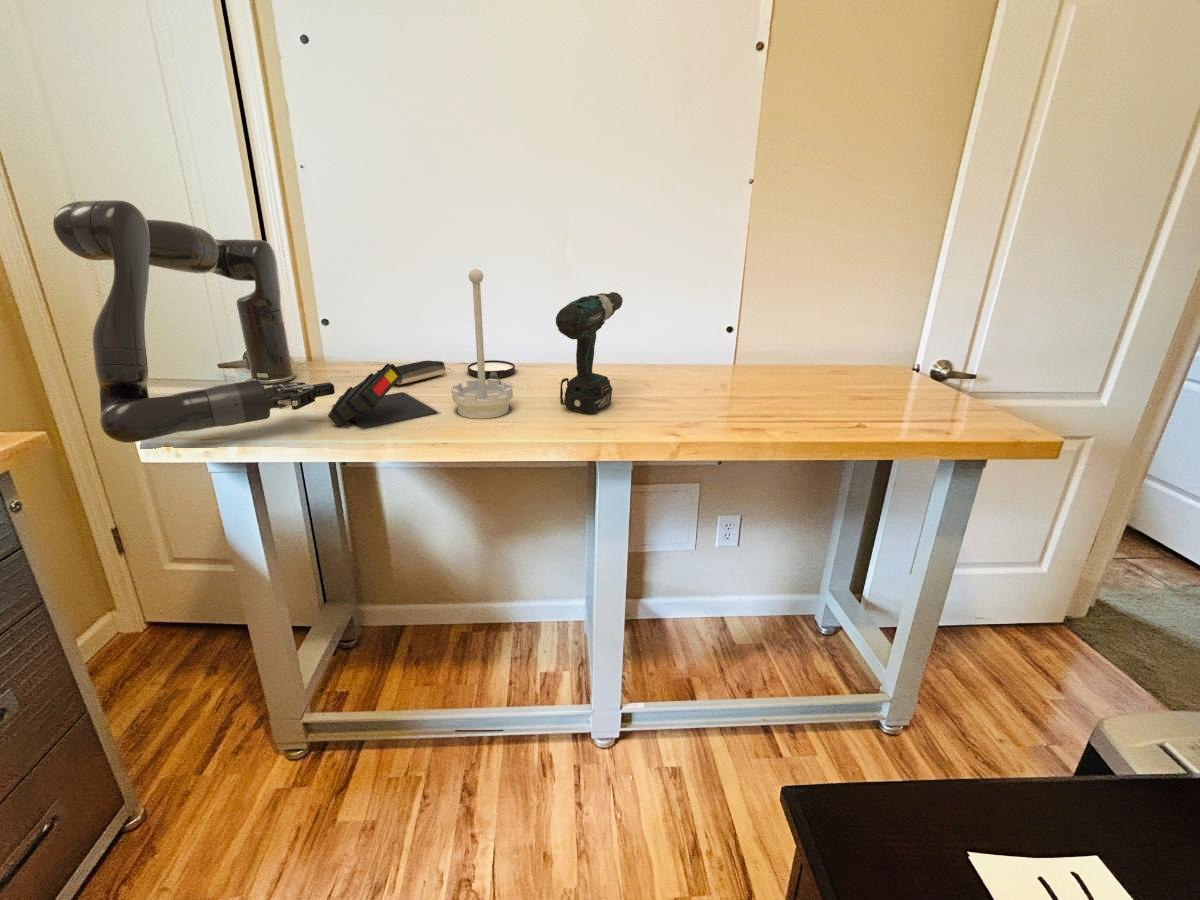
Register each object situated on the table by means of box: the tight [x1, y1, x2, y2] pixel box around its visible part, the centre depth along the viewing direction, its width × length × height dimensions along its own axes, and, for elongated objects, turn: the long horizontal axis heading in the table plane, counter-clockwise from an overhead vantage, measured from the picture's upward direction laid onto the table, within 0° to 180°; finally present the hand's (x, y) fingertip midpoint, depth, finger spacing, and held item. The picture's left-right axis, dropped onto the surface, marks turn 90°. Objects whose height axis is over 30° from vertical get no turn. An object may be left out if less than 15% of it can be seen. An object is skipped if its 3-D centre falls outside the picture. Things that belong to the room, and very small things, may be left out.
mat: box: [333, 391, 438, 429], centre depth 132 cm, size 18×16×1 cm
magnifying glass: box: [467, 359, 516, 385], centre depth 156 cm, size 12×24×2 cm, turn 14°
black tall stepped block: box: [327, 362, 402, 427], centre depth 124 cm, size 4×13×15 cm
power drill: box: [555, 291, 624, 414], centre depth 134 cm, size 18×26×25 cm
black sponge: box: [376, 360, 446, 385], centre depth 154 cm, size 16×8×4 cm, turn 144°
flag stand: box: [451, 268, 514, 419], centre depth 127 cm, size 13×13×30 cm
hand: (332, 387), depth 122 cm, fingers closed
